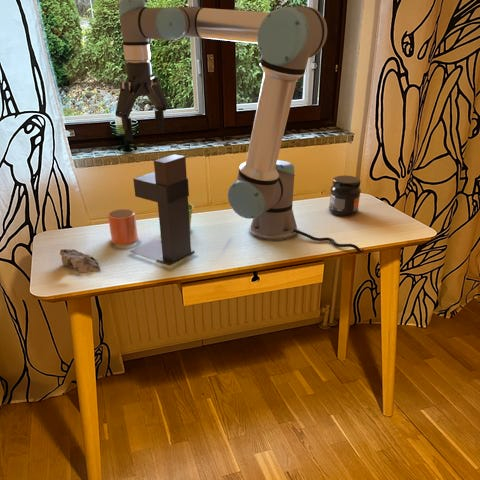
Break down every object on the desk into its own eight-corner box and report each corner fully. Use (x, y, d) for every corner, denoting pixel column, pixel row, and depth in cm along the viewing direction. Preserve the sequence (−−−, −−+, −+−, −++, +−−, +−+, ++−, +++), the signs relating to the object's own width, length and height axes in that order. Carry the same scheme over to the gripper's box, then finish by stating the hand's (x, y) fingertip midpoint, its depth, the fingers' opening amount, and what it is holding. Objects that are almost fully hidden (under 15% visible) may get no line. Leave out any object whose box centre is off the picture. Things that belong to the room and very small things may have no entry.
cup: (142, 239, 162) (138, 209, 157) (132, 250, 156) (128, 219, 150) (118, 237, 164) (114, 207, 158) (107, 247, 157) (103, 217, 152)
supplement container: (362, 210, 184) (366, 177, 178) (351, 219, 177) (355, 185, 170) (335, 205, 189) (338, 173, 182) (323, 213, 181) (326, 180, 175)
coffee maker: (129, 255, 152) (116, 154, 136) (155, 243, 160) (145, 146, 144) (169, 270, 144) (160, 164, 128) (194, 256, 151) (189, 155, 135)
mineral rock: (105, 273, 142) (103, 259, 140) (78, 281, 138) (75, 266, 136) (85, 255, 152) (83, 242, 150) (59, 262, 148) (56, 248, 146)
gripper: (158, 57, 159) (163, 127, 170) (96, 64, 142) (107, 142, 153) (175, 58, 155) (180, 130, 166) (114, 65, 138) (124, 145, 149)
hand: (145, 136), depth 160 cm, fingers open, 13 cm apart
